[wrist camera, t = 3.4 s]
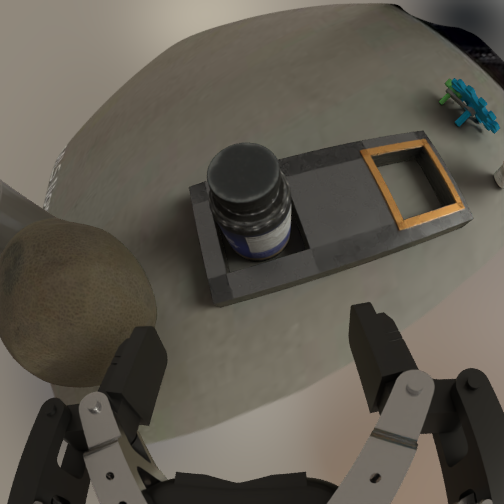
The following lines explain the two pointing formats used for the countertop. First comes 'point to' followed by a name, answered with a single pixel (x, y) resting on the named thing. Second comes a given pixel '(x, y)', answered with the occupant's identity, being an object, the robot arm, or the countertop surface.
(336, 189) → the grey rectangular tray
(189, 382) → the countertop surface
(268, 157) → the pill bottle
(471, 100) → the blue branched piece
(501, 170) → the lightbulb
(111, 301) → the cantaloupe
